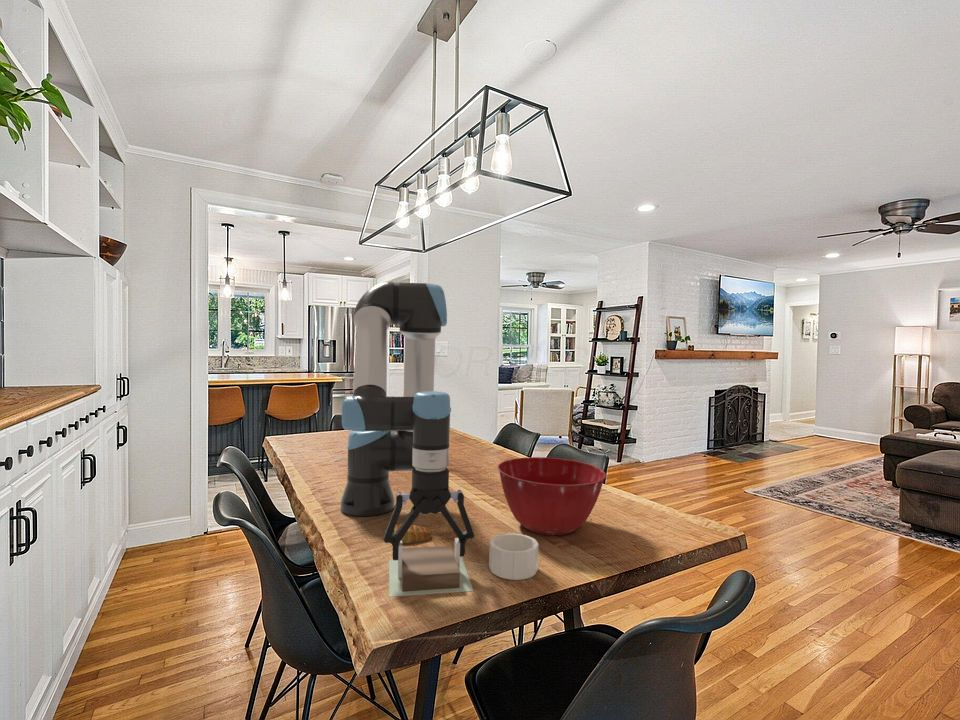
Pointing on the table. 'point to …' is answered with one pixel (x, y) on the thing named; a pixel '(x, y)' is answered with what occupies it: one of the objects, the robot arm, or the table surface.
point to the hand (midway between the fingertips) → (428, 573)
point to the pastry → (414, 534)
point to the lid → (429, 568)
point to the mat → (396, 590)
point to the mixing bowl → (550, 492)
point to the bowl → (513, 556)
